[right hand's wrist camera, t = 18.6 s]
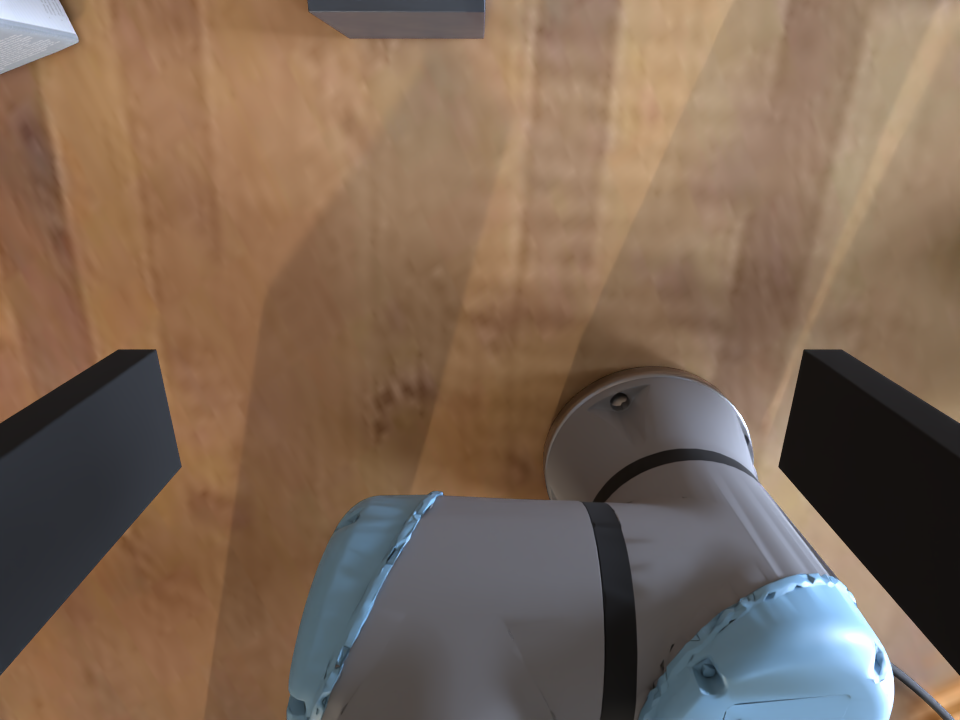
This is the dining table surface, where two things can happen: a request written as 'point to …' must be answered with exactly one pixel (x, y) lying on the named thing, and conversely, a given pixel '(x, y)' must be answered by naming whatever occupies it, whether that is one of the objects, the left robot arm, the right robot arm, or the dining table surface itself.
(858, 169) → the dining table surface
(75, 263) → the dining table surface
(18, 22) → the hard drive box
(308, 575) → the dining table surface
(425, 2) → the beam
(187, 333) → the dining table surface
